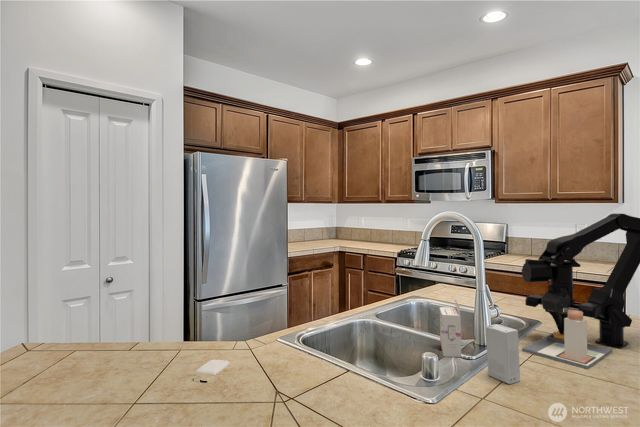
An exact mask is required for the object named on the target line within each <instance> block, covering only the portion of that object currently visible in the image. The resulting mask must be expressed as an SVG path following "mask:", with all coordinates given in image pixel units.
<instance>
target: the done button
mask: <svg viewBox="0 0 640 427" xmlns="http://www.w3.org/2000/svg"><path fill="white" fill-rule="evenodd" d="M552 334H553V337H554V338H558V339H562V340H564V334H560V333H559V331H553V333H552Z"/></svg>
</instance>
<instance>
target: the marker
mask: <svg viewBox="0 0 640 427" xmlns="http://www.w3.org/2000/svg"><path fill="white" fill-rule="evenodd" d="M587 344H588V320H587V319H585V318H584V316H583V312H582V311H578V310H568V318H564V346H565V356H567V357H570V358H573V359H576V360H581V359H585V358H587Z"/></svg>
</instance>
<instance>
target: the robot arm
mask: <svg viewBox="0 0 640 427" xmlns="http://www.w3.org/2000/svg"><path fill="white" fill-rule="evenodd" d="M618 230H621V231H624V232H625V239H626V240H625V241H626V244H625V246H624V248H623V250H622V252H621V254H620V256H619V257H618V259H617V261H616V263H615V265H614V267H613V269H612V270H611V272H610V274H609V276H608V278H607V280H606V282H605V284H604V285H603V286H602V287H600V288H596V287H593V288H592V289H591V292H590V295H589V296H588V297H587V298H586V300H587V302H584V303H581V304H577V303H575V302H576V301H575V300H576V299H575V298H574V289H575V285H574V280H573V279H574V276H573V275H574V274H573V273H574V272H573V270H574V268H580V267H581V266H582V264H580V263H579V262H577V261H576V260H575V259H574V258H575V257H577V255H579V254H580V253H582V251H583V249H584V248H585V247H587V246H589V245H590V244H593V243H594V242H596V241H598V240H600V239H602V238H604V237H606V236H608V235H610V234H612V233H614V232H616V231H618ZM522 265H523V266H522V269H521V277H522V279H523V280H524V282H526V283H548V282H550V284H548V287H547V292H545V293H544V295H539V294H530V295H528V296H526V297H525V300H524V301H525V304H524V305H525V306H527V307H533V308H537V307H538V306H539V305H541V307H542V308H543V310H545V313H548V314H549V315H550V316H551V317H552V319H553V321H554V323H555V325H556V328H557V330H558V332H559V333H560V334H564V318H568V310H578V311H582V312H583V317H587V318H592V319H594V320H597V321H599V322H598V323H599V324H598V326H599V327H598V328H599V329H598V330H599V331H598V332H599V337H598V338H597V339H595V340H594V342H595V343H597V344H600V345H605V346H609V347H613V348H618V349H623V348H624V347H625V346H627V345H628V344H629V342H628V341H626V340H624V338H625V337H624V336H625V333H624V331H625V330H624V328H626V327H627V328H628V327H629V328H630V327H631V325H632V323H633V319H632V318H631V317H630V316H629V315H628V314H627V313H626V312H624V308H625V304H626V303H625V292H626V291H627V288H628V286H629V284H630V283H631V281H632V279H633V277H634V275H635V273H636V272H637V270H638V269H639V268H638V267H639V266H640V217H636V216H632V215H629V214H625V213H610V214H609V215H607V216H606V217H605V218H602V219H600V220H598V221H596V222H594V223H593V224H590V225H588V226H586V227H585V228H583V229H581V230H578V231H576V232H575V233H572V234H568V235H563V236H560V237H557V238H553V239H550V240H549V241H548V242H547V244H546V248H545V249H544V250H543V252H542V253H541V254H540V256H539V258H538V259H531V258H526V259H525V260H524V263H523V264H522Z"/></svg>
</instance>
